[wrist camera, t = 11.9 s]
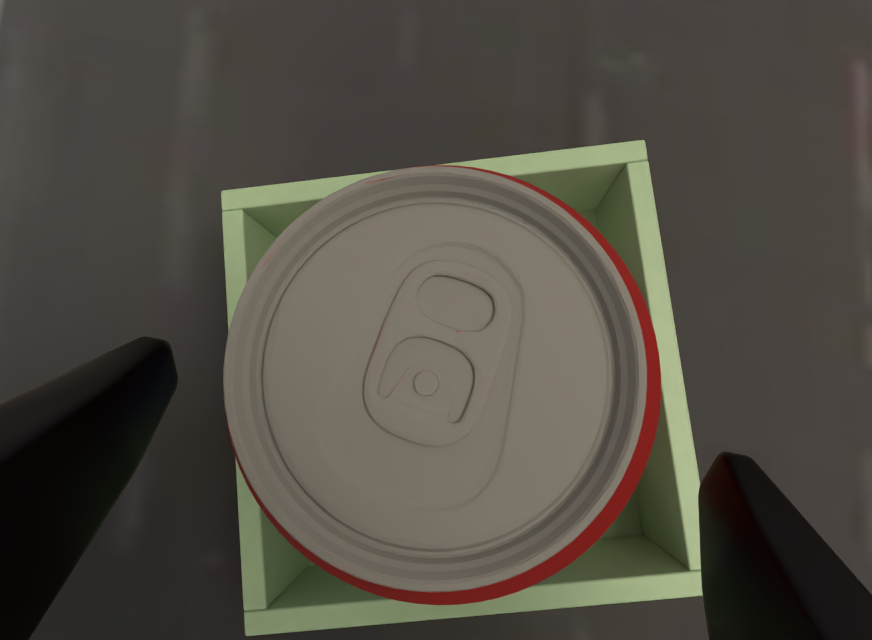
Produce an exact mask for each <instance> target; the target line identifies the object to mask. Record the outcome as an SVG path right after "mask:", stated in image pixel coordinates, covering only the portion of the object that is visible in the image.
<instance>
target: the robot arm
mask: <svg viewBox="0 0 872 640" xmlns="http://www.w3.org/2000/svg"><path fill="white" fill-rule="evenodd" d="M177 382H178V375H177V371H176V366H175V362H174V358H173V353H172V349H171V346H170V344H169V343H168V342H167V341H165V340H162V339H157V338H152V337H140V338H138V339H136V340H133V341H131V342H129V343H127V344H125V345H123V346H121V347H118V348H116V349H114V350H112V351H110V352H108V353H106V354H104V355H101V356H99V357H97V358H95V359H93V360H91V361H89V362H86V363H84V364H82V365H80V366H78V367H76V368H74V369H72V370H69V371H67V372H65V373H63V374H61V375H59V376H57V377H54V378H52V379H50V380H48V381H46V382H44V383H42V384H40V385H37V386H35V387H33V388H31V389H29V390H27V391H25V392H23V393H20V394H18V395H16V396H14V397H12V398H10V399H8V400H5V401H3V402H1V403H0V640H29V638H30V637H31V635H32V634H33V632H34V630H35V629H36V627H37V626H38V624H39V622H40V621H41V619H42V618H43V616H44V615H45V613H46V611H47V610H48V608H49V607H50V605H51V604H52V602H53V600H54V599H55V597H56V596H57V594H58V592H59V591H60V589H61V588H62V586H63V585H64V583H65V581H66V580H67V578H68V577H69V575H70V573H71V572H72V570H73V569H74V567H75V566H76V564H77V562H78V561H79V559H80V558H81V556H82V555H83V553H84V551H85V550H86V548H87V547H88V545H89V543H90V542H91V540H92V539H93V537H94V536H95V534H96V532H97V531H98V529H99V528H100V526H101V525H102V523H103V521H104V520H105V518H106V517H107V515H108V513H109V512H110V510H111V509H112V507H113V506H114V504H115V502H116V501H117V499H118V498H119V496H120V494H121V493H122V491H123V490H124V488H125V487H126V485H127V483H128V482H129V480H130V479H131V477H132V475H133V474H134V472H135V470H136V469H137V467H138V465H139V463H140V461H141V459H142V457H143V455H144V453H145V451H146V449H147V447H148V445H149V443H150V441H151V439H152V437H153V435H154V433H155V431H156V429H157V427H158V425H159V423H160V421H161V419H162V417H163V415H164V413H165V411H166V409H167V406H168V404H169V402H170V400H171V398H172V396H173V394H174V392H175V390H176V387H177ZM698 509H699V534H700V560H701V581H702V594H703V601H704V609H705V615H706V622H707V628H708V634H709V640H872V595H871V594H870V592H869V591H868V590H867V589H866V588H865V587H864V586H863V584H862V583H861V582H860V581H859V580H858V579H857V578H856V576H855V575H854V574H853V573H852V572H851V571H850V570H849V568H848V567H847V566H846V565H845V564H844V563H843V562H842V560H841V559H840V558H839V557H838V556H837V555H836V554H835V552H834V551H833V550H832V549H831V548H830V547H829V546H828V544H827V543H826V542H825V541H824V540H823V539H822V538H821V536H820V535H819V534H818V533H817V532H816V531H815V530H814V528H813V527H812V526H811V525H810V524H809V523H808V522H807V520H806V519H805V518H804V517H803V516H802V515H801V514H800V512H799V511H798V510H797V509H796V508H795V507H794V506H793V504H792V503H791V502H790V501H789V500H788V499H787V498H786V496H785V495H784V494H783V493H782V492H781V491H780V490H779V489H778V487H777V486H776V485H775V484H774V483H773V482H772V481H771V479H770V478H769V477H768V476H767V475H766V474H765V473H764V471H763V470H762V469H761V468H760V467H759V466H758V465H757V463H756V462H755V461H754V460H753V459H752V458H750V457H748V456H745V455H740V454H735V453H730V452H722V453H720V454H719V455H718V456H717V457H716V459H715V461H714V462H713V464H712V466H711V467H710V469H709V471H708V472H707V474H706V476H705V477H704V479H703V481H702V482H701V485H700V488H699V493H698Z"/></svg>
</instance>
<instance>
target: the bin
mask: <svg viewBox="0 0 872 640" xmlns="http://www.w3.org/2000/svg"><path fill="white" fill-rule="evenodd" d="M440 165H456V166H466V167H475V168H480V169H485V170H491V171H495V172H498V173H502V174H505V175H509V176H512V177H514V178H517V179H520V180H523V181H525V182H528V183H530V184H532V185H534V186H536V187H538V188H540V189H542V190H544V191H546V192H548V193H550V194H551V195H553V196H555V197H556V198H558V199H560V200H561V201H563V202H564V203H566V204H567V205H568V206H570V207H571V208H573V209H574V210H575V211H577V212H578V213H579V214H580V215H581V216H583V217H584V218H585V219H586V220H587V221H589V222H590V223H591V224H592V225H593V226H594V227H595V228H596V229H597V230H598V231H599V232H600V233H601V234H602V235H603V236H604V238H605V239H606V240H607V241H608V242H609V244H610V245H611V246H612V247H613V248H614V249H615V251H616V252H617V254H618V255H619V256H620V258H621V259H622V261H623V262H624V263H625V265H626V266H627V268H628V270H629V272H630V273H631V275H632V277H633V278H634V280H635V282H636V284H637V286H638V288H639V290H640V292H641V294H642V296H643V299H644V301H645V304H646V306H647V309H648V312H649V314H650V317H651V321H652V324H653V328H654V332H655V335H656V340H657V346H658V351H659V359H660V369H661V401H660V413H659V419H658V425H657V430H656V435H655V439H654V442H653V446H652V450H651V453H650V456H649V459H648V461H647V464H646V467H645V469H644V472H643V474H642V476H641V478H640V480H639V482H638V485H637V487H636V489H635V491H634V492H633V494H632V496H631V497H630V499H629V501H628V502H627V504H626V506H625V507H624V509H623V510H622V511H621V513H620V514H619V516H618V517H617V518H616V520H615V521H614V522H613V524H612V525H611V526H610V527H609V528H608V529H607V530H606V532H605V533H604V534H603V535H602V536H601V537H600V538H599V539H598V540H597V541H596V542H595V543H594V544H593V545H592V546H591V547H590V548H589V549H588V550H587V551H586V552H585V553H583V554H582V555H581V556H579V557H578V558H577V559H576V560H574V561H573V562H572V563H571V564H569V565H568V566H566V567H565V568H563V569H562V570H560V571H559V572H557V573H556V574H554V575H552V576H550V577H549V578H547V579H545V580H543V581H541V582H539V583H537V584H535V585H533V586H531V587H528V588H526V589H523V590H521V591H519V592H516V593H513V594H510V595H506V596H503V597H500V598H496V599H492V600H487V601H482V602H477V603H469V604H460V605H426V604H415V603H409V602H403V601H397V600H393V599H389V598H385V597H381V596H378V595H375V594H372V593H370V592H367V591H364V590H361V589H359V588H357V587H354V586H352V585H350V584H348V583H346V582H344V581H342V580H340V579H338V578H336V577H335V576H333V575H331V574H329V573H328V572H326V571H324V570H323V569H321V568H320V567H319V566H317V565H316V564H314V563H313V562H311V561H310V560H309V559H307V558H306V557H305V556H304V555H303V554H302V553H300V552H299V551H298V550H297V549H296V548H294V547H293V546H292V545H291V544H290V543H289V542H288V541H287V540H286V539H285V538H284V536H283V535H282V534H281V533H280V532H279V531H278V530H277V529H276V527H275V526H274V525H273V524H272V523H271V521H270V520H269V519H268V518H267V516H266V515H265V513H264V512H263V510H262V509H261V508H260V506H259V505H258V503H257V502H256V500H255V498H254V496H253V495H252V493H251V491H250V489H249V487H248V486H247V484H246V481H245V479H244V477H243V475H242V473H241V470H240V468H239V465H238V463H237V460H236V477H237V496H238V514H239V532H240V550H241V569H242V587H243V605H244V611H245V612H244V622H245V635H246V636H254V635H265V634H277V633H288V632H299V631H310V630H322V629H333V628H344V627H355V626H367V625H378V624H389V623H401V622H412V621H423V620H434V619H446V618H457V617H468V616H479V615H491V614H502V613H513V612H524V611H536V610H547V609H558V608H569V607H581V606H592V605H603V604H614V603H626V602H637V601H648V600H659V599H671V598H682V597H693V596H703V594H702V581H701V560H700V534H699V509H698V493H699V488H700V480H699V474H698V468H697V461H696V455H695V449H694V443H693V436H692V430H691V424H690V418H689V412H688V405H687V399H686V393H685V387H684V380H683V374H682V368H681V362H680V356H679V349H678V343H677V337H676V331H675V325H674V318H673V312H672V306H671V300H670V293H669V287H668V281H667V275H666V269H665V262H664V256H663V250H662V244H661V237H660V231H659V225H658V219H657V213H656V206H655V200H654V194H653V188H652V181H651V175H650V169H649V163H648V161H647V152H646V145H645V141H644V140H638V141H630V142H622V143H613V144H605V145H597V146H589V147H580V148H572V149H564V150H556V151H547V152H539V153H531V154H523V155H514V156H506V157H498V158H490V159H481V160H473V161H465V162H457V163H448V164H440ZM391 171H393V170H391ZM385 172H389V171H382V172H374V173H366V174H358V175H349V176H341V177H333V178H325V179H316V180H308V181H300V182H291V183H283V184H275V185H267V186H258V187H250V188H242V189H234V190H225V191H222V192H221V199H222V210H223V212H222V221H223V240H224V258H225V276H226V294H227V313H228V331H229V329H230V325H231V322H232V318H233V315H234V312H235V309H236V306H237V303H238V300H239V298H240V296H241V294H242V291H243V289H244V287H245V285H246V283H247V281H248V279H249V277H250V276H251V274H252V272H253V270H254V268H255V267H256V265H257V264H258V262H259V261H260V259H261V258H262V257H263V255H264V254H265V252H266V251H267V250H268V248H269V247H270V246H271V245H272V243H273V242H274V241H275V239H276V238H277V237H278V236H279V235H280V234H281V233H282V232H283V231H284V230H285V229H286V228H287V227H288V226H289V225H290V224H291V223H292V222H293V221H294V220H296V219H297V218H298V217H299V216H300V215H301V214H302V213H304V212H305V211H306V210H308V209H309V208H311V207H312V206H313V205H315V204H316V203H318V202H319V201H321V200H322V199H324V198H325V197H327V196H328V195H330V194H332V193H334V192H336V191H338V190H340V189H342V188H344V187H346V186H348V185H350V184H352V183H355V182H357V181H359V180H361V179H365V178H368V177H371V176H374V175H378V174H381V173H385ZM235 459H236V457H235Z"/></svg>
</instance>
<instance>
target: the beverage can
mask: <svg viewBox="0 0 872 640" xmlns="http://www.w3.org/2000/svg"><path fill="white" fill-rule="evenodd" d="M223 385H224V392H223V393H224V406H225V415H226V421H227V427H228V432H229V436H230V440H231V444H232V448H233V451H234V454H235V457H236V460H237V463H238V465H239V468H240V470H241V473H242V475H243V477H244V479H245V481H246V484H247V486H248V487H249V489H250V491H251V493H252V495H253V496H254V498H255V500H256V502H257V503H258V505H259V506H260V508H261V509H262V510H263V512H264V513H265V515H266V516H267V518H268V519H269V520H270V521H271V523H272V524H273V525H274V526H275V527H276V529H277V530H278V531H279V532H280V533H281V534H282V535H283V536H284V538H285V539H286V540H287V541H288V542H289V543H290V544H291V545H292V546H293V547H294V548H296V549H297V550H298V551H299V552H300V553H302V554H303V555H304V556H305V557H306V558H307V559H309V560H310V561H311V562H313V563H314V564H316V565H317V566H319V567H320V568H321V569H323V570H324V571H326V572H328V573H329V574H331V575H333V576H335V577H336V578H338V579H340V580H342V581H344V582H346V583H348V584H350V585H352V586H354V587H357V588H359V589H361V590H364V591H367V592H370V593H372V594H375V595H378V596H381V597H385V598H389V599H393V600H397V601H403V602H409V603H415V604H426V605H460V604H469V603H477V602H482V601H487V600H492V599H496V598H500V597H503V596H506V595H510V594H513V593H516V592H519V591H521V590H523V589H526V588H528V587H531V586H533V585H535V584H537V583H539V582H541V581H543V580H545V579H547V578H549V577H550V576H552V575H554V574H556V573H557V572H559V571H560V570H562V569H563V568H565V567H566V566H568V565H569V564H571V563H572V562H573V561H574V560H576V559H577V558H578V557H579V556H581V555H582V554H583V553H585V552H586V551H587V550H588V549H589V548H590V547H591V546H592V545H593V544H594V543H595V542H596V541H597V540H598V539H599V538H600V537H601V536H602V535H603V534H604V533H605V532H606V530H607V529H608V528H609V527H610V526H611V525H612V524H613V522H614V521H615V520H616V518H617V517H618V516H619V514H620V513H621V511H622V510H623V509H624V507H625V506H626V504H627V502H628V501H629V499H630V497H631V496H632V494H633V492H634V491H635V489H636V487H637V485H638V482H639V480H640V478H641V476H642V474H643V472H644V469H645V467H646V464H647V461H648V459H649V456H650V453H651V450H652V446H653V442H654V439H655V435H656V430H657V425H658V419H659V413H660V401H661V369H660V359H659V351H658V346H657V340H656V335H655V332H654V328H653V324H652V321H651V317H650V314H649V312H648V309H647V306H646V304H645V301H644V299H643V296H642V294H641V292H640V290H639V288H638V286H637V284H636V282H635V280H634V278H633V277H632V275H631V273H630V272H629V270H628V268H627V266H626V265H625V263H624V262H623V261H622V259H621V258H620V256H619V255H618V254H617V252H616V251H615V249H614V248H613V247H612V246H611V245H610V244H609V242H608V241H607V240H606V239H605V238H604V236H603V235H602V234H601V233H600V232H599V231H598V230H597V229H596V228H595V227H594V226H593V225H592V224H591V223H590V222H589V221H587V220H586V219H585V218H584V217H583V216H581V215H580V214H579V213H578V212H577V211H575V210H574V209H573V208H571V207H570V206H568V205H567V204H566V203H564V202H563V201H561V200H560V199H558V198H556V197H555V196H553V195H551V194H550V193H548V192H546V191H544V190H542V189H540V188H538V187H536V186H534V185H532V184H530V183H528V182H525V181H523V180H520V179H517V178H514V177H512V176H509V175H505V174H502V173H498V172H495V171H491V170H485V169H480V168H475V167H466V166H456V165H431V166H418V167H411V168H404V169H398V170H393V171H389V172H385V173H381V174H378V175H374V176H371V177H368V178H365V179H361V180H359V181H357V182H355V183H352V184H350V185H348V186H346V187H344V188H342V189H340V190H338V191H336V192H334V193H332V194H330V195H328V196H327V197H325V198H324V199H322V200H321V201H319V202H318V203H316V204H315V205H313V206H312V207H311V208H309V209H308V210H306V211H305V212H304V213H302V214H301V215H300V216H299V217H298V218H297V219H296V220H294V221H293V222H292V223H291V224H290V225H289V226H288V227H287V228H286V229H285V230H284V231H283V232H282V233H281V234H280V235H279V236H278V237H277V238H276V239H275V241H274V242H273V243H272V245H271V246H270V247H269V248H268V250H267V251H266V252H265V254H264V255H263V257H262V258H261V259H260V261H259V262H258V264H257V265H256V267H255V268H254V270H253V272H252V274H251V276H250V277H249V279H248V281H247V283H246V285H245V287H244V289H243V291H242V294H241V296H240V298H239V300H238V303H237V306H236V309H235V312H234V315H233V318H232V322H231V325H230V329H229V332H228V337H227V344H226V350H225V359H224V368H223Z"/></svg>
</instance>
